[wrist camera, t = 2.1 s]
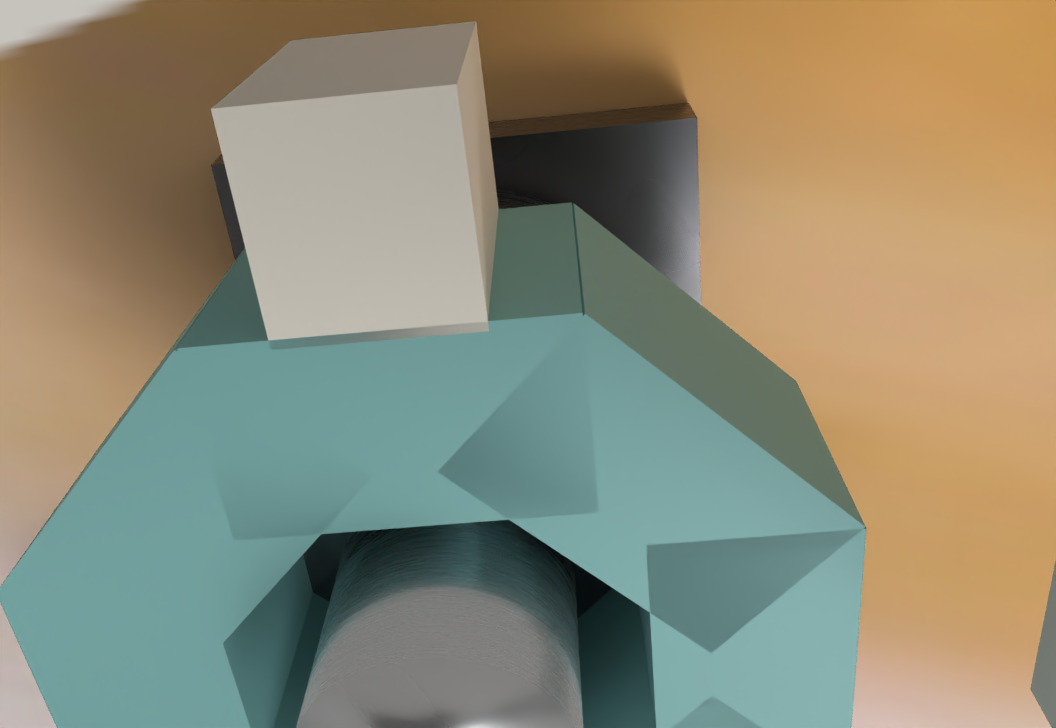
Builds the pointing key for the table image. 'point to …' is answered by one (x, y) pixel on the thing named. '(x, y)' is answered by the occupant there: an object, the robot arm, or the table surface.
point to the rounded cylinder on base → (498, 546)
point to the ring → (439, 433)
